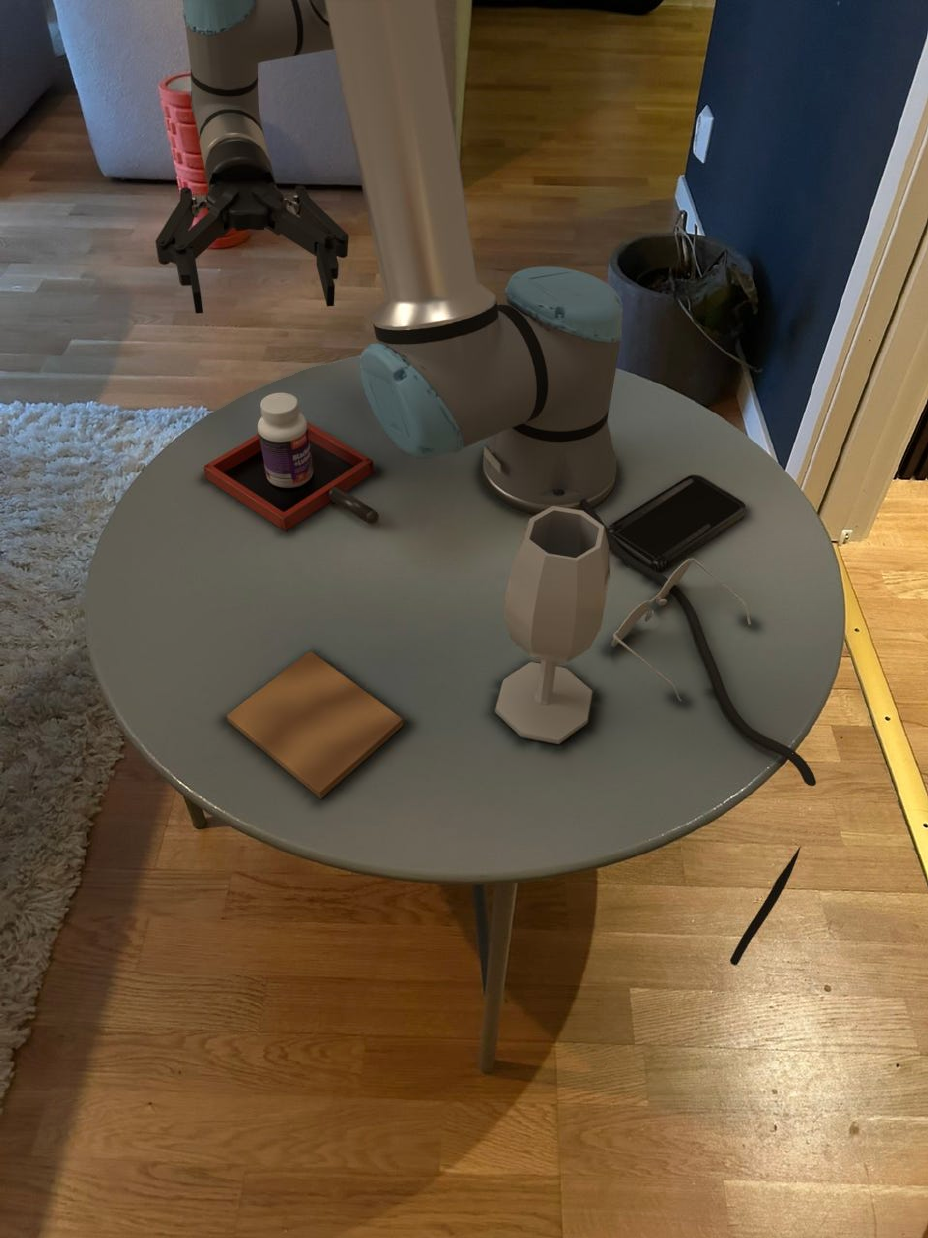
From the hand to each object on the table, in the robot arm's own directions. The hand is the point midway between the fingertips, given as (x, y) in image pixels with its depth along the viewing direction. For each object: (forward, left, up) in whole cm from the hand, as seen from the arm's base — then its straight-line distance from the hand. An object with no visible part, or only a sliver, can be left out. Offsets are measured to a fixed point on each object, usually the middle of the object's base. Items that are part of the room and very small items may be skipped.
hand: (265, 299), depth 94 cm
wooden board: (-32, +26, -19) cm, 45 cm away
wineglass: (-46, +11, -19) cm, 51 cm away
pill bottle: (-4, +4, -19) cm, 20 cm away
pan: (-8, +4, -19) cm, 21 cm away
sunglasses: (-51, -4, -19) cm, 55 cm away
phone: (-42, -18, -19) cm, 50 cm away
